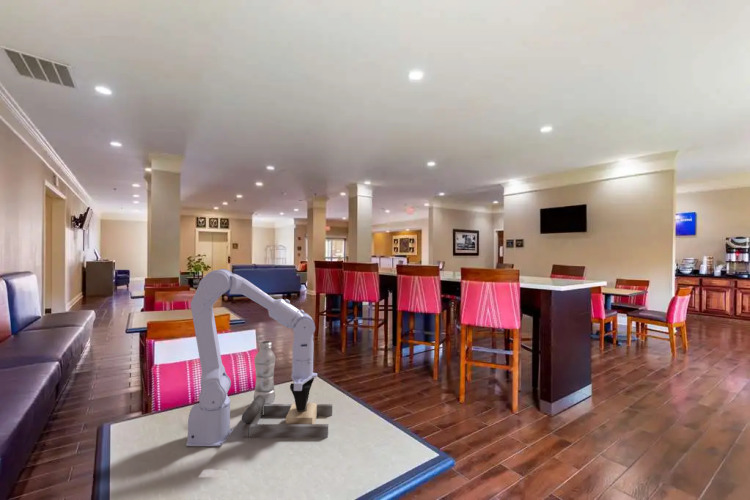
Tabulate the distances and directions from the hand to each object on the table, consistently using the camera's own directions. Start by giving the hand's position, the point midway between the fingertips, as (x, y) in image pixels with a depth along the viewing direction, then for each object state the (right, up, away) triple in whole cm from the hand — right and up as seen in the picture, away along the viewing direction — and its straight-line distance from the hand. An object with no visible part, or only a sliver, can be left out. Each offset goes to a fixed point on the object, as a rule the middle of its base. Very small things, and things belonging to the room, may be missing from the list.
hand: (301, 407), depth 96 cm
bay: (-3, -6, 0) cm, 7 cm away
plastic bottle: (-15, -6, +15) cm, 23 cm away
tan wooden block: (0, -5, 0) cm, 5 cm away
